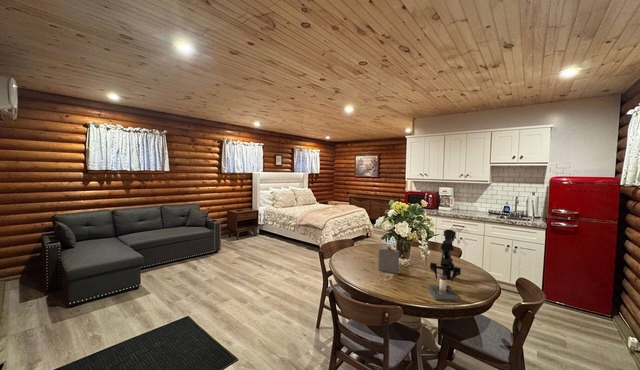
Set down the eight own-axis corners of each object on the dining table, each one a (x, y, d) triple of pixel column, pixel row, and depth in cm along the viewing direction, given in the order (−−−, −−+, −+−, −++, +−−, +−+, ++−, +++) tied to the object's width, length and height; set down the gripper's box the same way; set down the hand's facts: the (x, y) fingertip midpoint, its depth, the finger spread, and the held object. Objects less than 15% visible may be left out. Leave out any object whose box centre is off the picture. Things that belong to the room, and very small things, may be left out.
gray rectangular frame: (428, 290, 177) (429, 284, 177) (449, 291, 176) (449, 285, 175) (435, 299, 164) (435, 293, 164) (457, 301, 163) (457, 294, 162)
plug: (437, 294, 171) (438, 275, 170) (441, 293, 172) (442, 274, 172) (442, 297, 167) (443, 277, 166) (447, 296, 169) (448, 276, 168)
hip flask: (377, 270, 210) (378, 245, 209) (378, 268, 214) (379, 244, 212) (398, 274, 203) (399, 248, 202) (398, 272, 207) (399, 247, 206)
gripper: (430, 251, 183) (428, 272, 174) (461, 256, 174) (460, 278, 165) (431, 258, 191) (429, 279, 182) (461, 263, 181) (459, 285, 173)
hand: (443, 280), depth 175 cm, fingers open, 9 cm apart
